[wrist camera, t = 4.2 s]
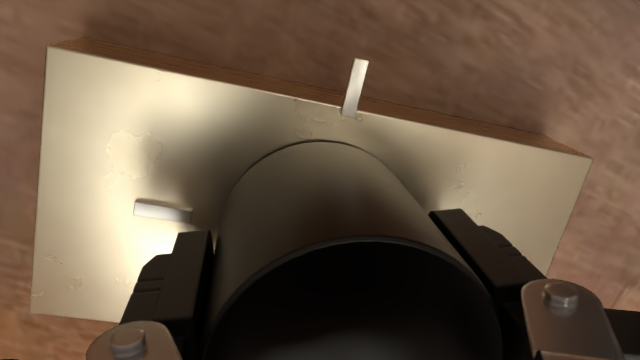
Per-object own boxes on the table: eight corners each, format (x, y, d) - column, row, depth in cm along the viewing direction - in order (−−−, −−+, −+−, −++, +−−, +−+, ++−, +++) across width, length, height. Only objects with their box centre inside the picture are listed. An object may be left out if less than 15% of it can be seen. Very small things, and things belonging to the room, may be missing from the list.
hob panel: (59, 300, 16) (23, 355, 14) (85, -10, 13) (46, -13, 11) (466, 349, 19) (498, 403, 16) (559, 98, 16) (616, 117, 13)
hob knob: (209, 146, 12) (173, 260, 7) (416, 135, 13) (534, 233, 8) (226, 327, 14) (210, 530, 9) (408, 310, 15) (500, 492, 9)
